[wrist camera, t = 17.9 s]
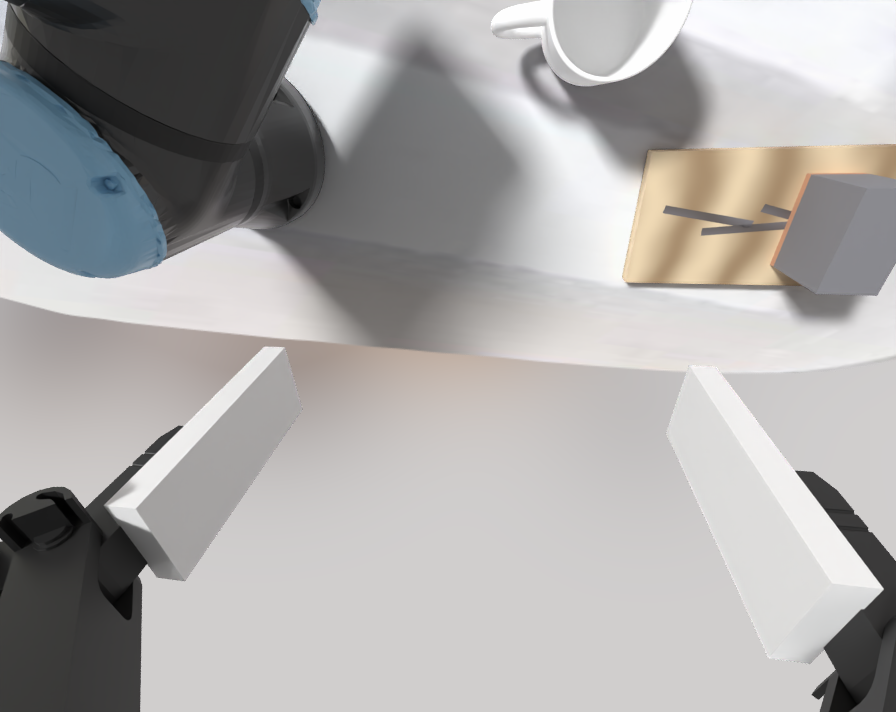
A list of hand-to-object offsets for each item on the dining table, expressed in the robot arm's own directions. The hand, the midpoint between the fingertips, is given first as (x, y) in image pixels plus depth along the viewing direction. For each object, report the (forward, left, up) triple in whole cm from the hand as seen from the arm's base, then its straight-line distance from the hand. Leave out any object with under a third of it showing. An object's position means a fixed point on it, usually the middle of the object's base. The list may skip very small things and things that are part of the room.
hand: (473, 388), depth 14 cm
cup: (+5, +13, -32) cm, 35 cm away
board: (+23, -2, -32) cm, 39 cm away
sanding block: (+28, -2, -30) cm, 41 cm away
